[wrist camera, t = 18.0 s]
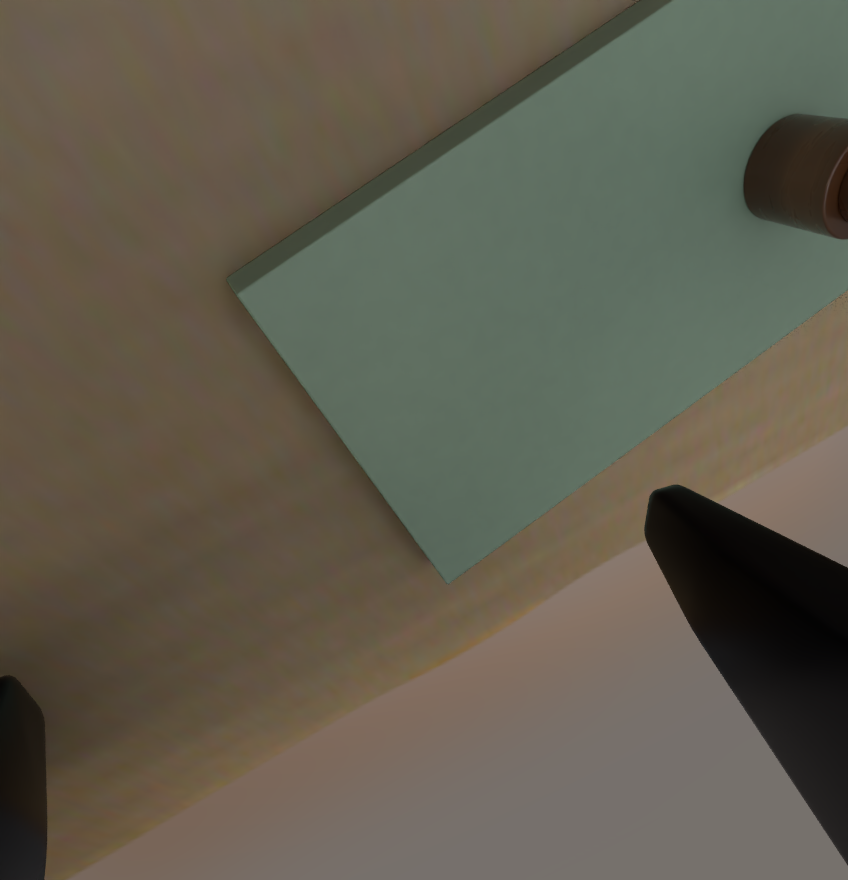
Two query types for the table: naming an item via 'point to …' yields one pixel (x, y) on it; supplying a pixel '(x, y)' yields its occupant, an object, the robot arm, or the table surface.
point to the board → (559, 267)
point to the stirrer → (801, 175)
